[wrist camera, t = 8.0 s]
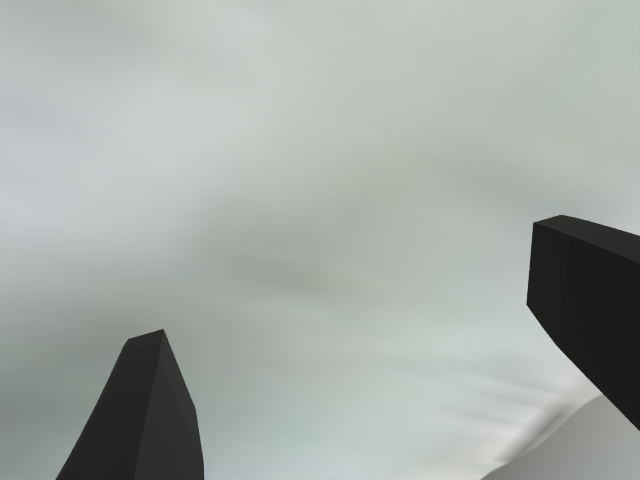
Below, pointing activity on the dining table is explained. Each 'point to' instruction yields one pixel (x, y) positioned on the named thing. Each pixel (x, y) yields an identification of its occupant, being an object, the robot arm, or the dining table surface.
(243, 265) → the dining table surface
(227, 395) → the dining table surface
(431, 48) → the dining table surface
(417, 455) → the dining table surface
